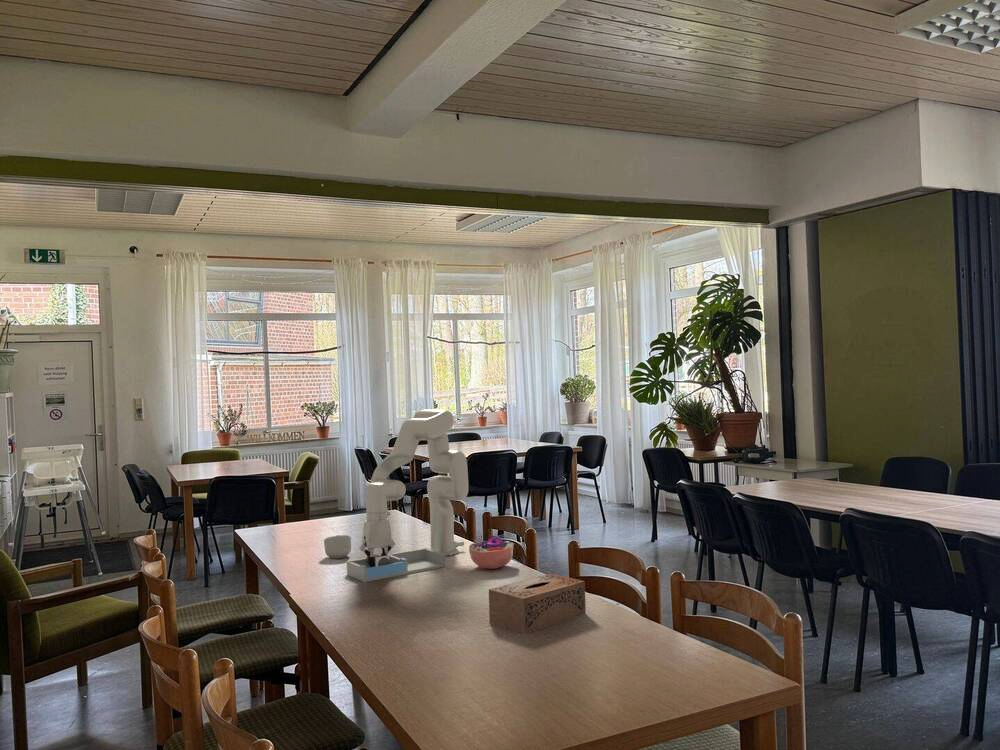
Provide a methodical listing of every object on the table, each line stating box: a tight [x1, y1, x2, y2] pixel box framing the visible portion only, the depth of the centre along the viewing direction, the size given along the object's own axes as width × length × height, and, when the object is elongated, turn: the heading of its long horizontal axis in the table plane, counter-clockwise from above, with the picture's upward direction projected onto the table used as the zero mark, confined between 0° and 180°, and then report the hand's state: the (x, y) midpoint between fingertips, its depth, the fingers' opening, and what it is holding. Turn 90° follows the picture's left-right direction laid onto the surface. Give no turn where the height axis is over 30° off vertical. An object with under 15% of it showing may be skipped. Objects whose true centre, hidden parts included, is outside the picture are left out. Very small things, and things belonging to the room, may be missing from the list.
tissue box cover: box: [488, 573, 587, 634], centre depth 236 cm, size 26×14×10 cm, turn 132°
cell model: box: [468, 535, 514, 570], centre depth 300 cm, size 17×20×11 cm
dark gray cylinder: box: [365, 553, 390, 567], centre depth 293 cm, size 10×4×4 cm, turn 36°
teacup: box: [323, 534, 352, 560], centre depth 325 cm, size 14×11×8 cm
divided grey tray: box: [346, 547, 446, 583], centre depth 298 cm, size 34×14×5 cm, turn 126°
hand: (377, 565), depth 293 cm, fingers closed on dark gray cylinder, 4 cm apart
